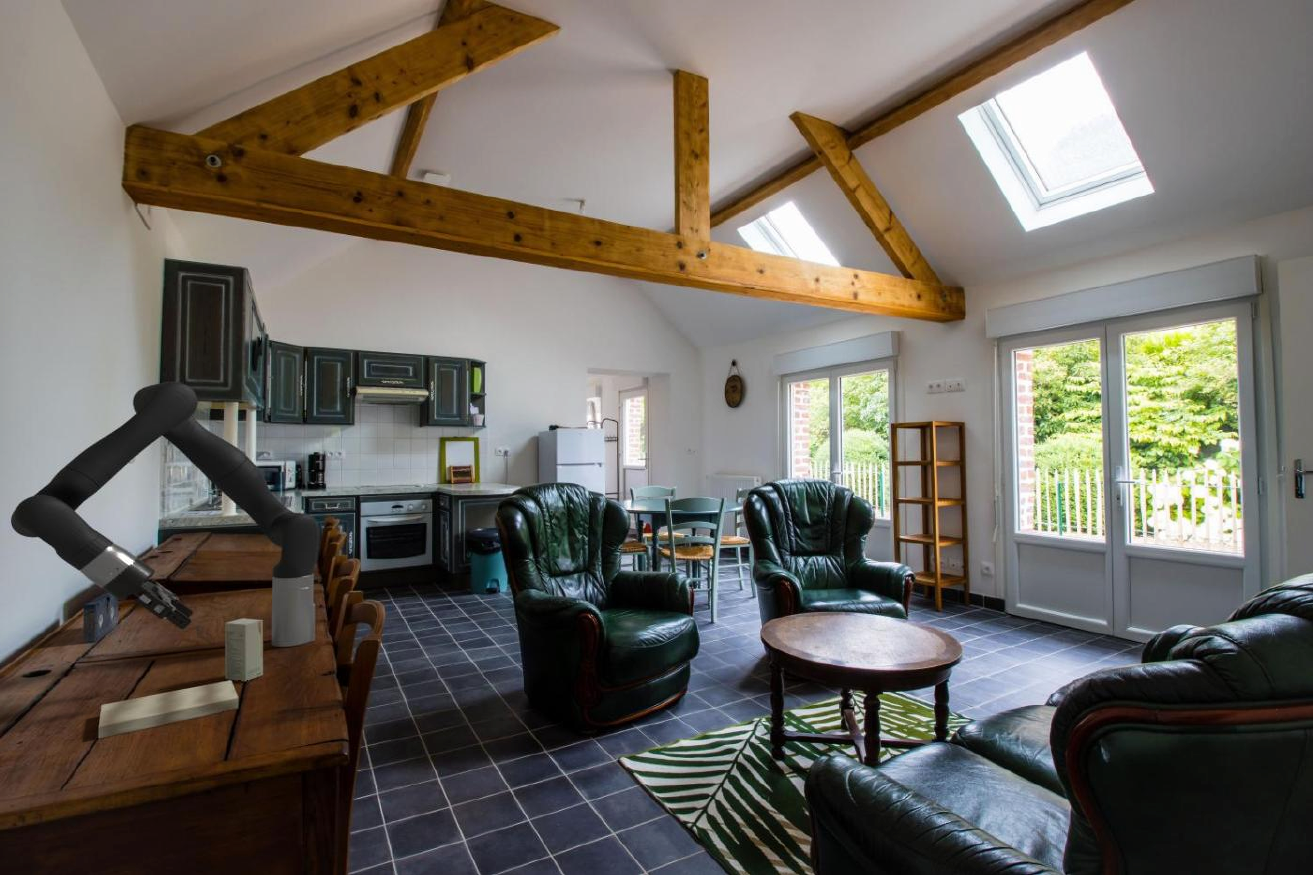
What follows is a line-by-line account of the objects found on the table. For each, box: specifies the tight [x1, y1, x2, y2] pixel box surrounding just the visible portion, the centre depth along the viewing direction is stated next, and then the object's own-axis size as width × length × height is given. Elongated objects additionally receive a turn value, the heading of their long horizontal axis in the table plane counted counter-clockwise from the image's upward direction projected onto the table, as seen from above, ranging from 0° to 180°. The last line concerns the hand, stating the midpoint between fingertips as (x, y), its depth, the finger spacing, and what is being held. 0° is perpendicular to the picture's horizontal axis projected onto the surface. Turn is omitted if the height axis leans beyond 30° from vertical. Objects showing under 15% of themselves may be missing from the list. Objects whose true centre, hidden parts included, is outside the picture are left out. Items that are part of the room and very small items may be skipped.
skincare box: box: [224, 617, 264, 682], centre depth 136 cm, size 6×4×12 cm
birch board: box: [98, 679, 239, 739], centre depth 118 cm, size 20×12×2 cm, turn 130°
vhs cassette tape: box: [82, 591, 119, 644], centre depth 168 cm, size 18×3×10 cm, turn 25°
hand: (188, 620), depth 131 cm, fingers open, 8 cm apart
